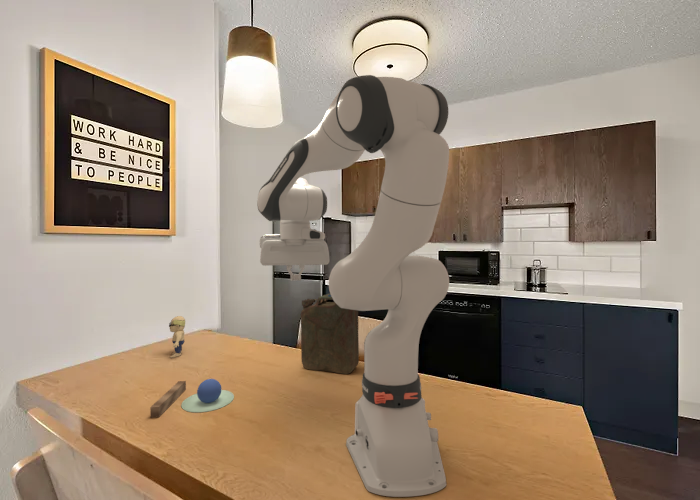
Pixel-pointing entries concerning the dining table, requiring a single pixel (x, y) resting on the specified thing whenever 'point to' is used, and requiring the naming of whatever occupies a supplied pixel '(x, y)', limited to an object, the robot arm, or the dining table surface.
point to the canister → (329, 336)
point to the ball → (209, 391)
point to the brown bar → (167, 399)
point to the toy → (177, 334)
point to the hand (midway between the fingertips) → (295, 280)
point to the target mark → (198, 406)
